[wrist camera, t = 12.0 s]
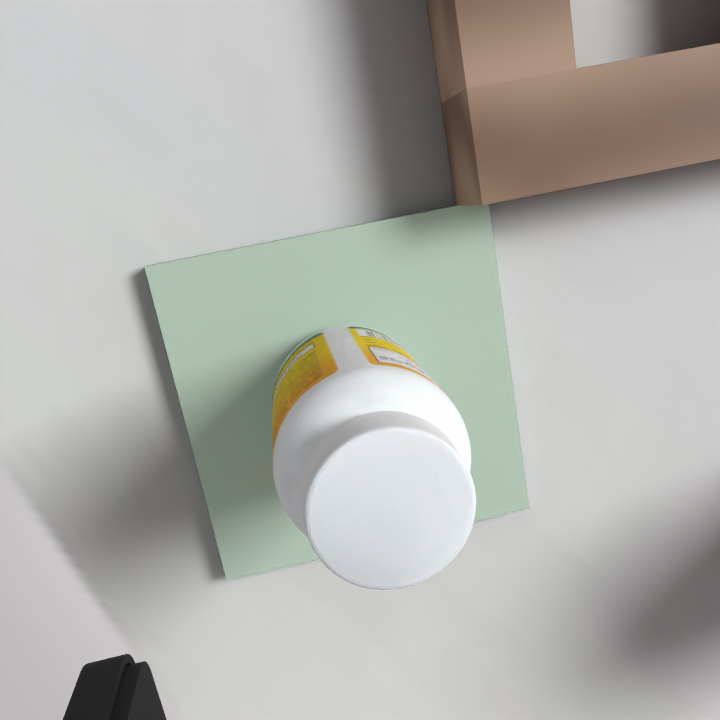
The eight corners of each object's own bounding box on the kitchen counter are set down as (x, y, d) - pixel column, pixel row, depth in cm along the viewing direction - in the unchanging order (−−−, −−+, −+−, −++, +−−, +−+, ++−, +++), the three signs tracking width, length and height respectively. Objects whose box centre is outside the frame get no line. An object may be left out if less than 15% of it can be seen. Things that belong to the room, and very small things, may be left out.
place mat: (147, 265, 23) (144, 267, 23) (482, 200, 24) (488, 199, 24) (227, 572, 26) (226, 581, 25) (523, 502, 27) (529, 508, 27)
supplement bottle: (406, 310, 24) (496, 375, 15) (427, 449, 25) (521, 589, 16) (256, 338, 24) (252, 424, 14) (285, 478, 25) (298, 640, 16)
